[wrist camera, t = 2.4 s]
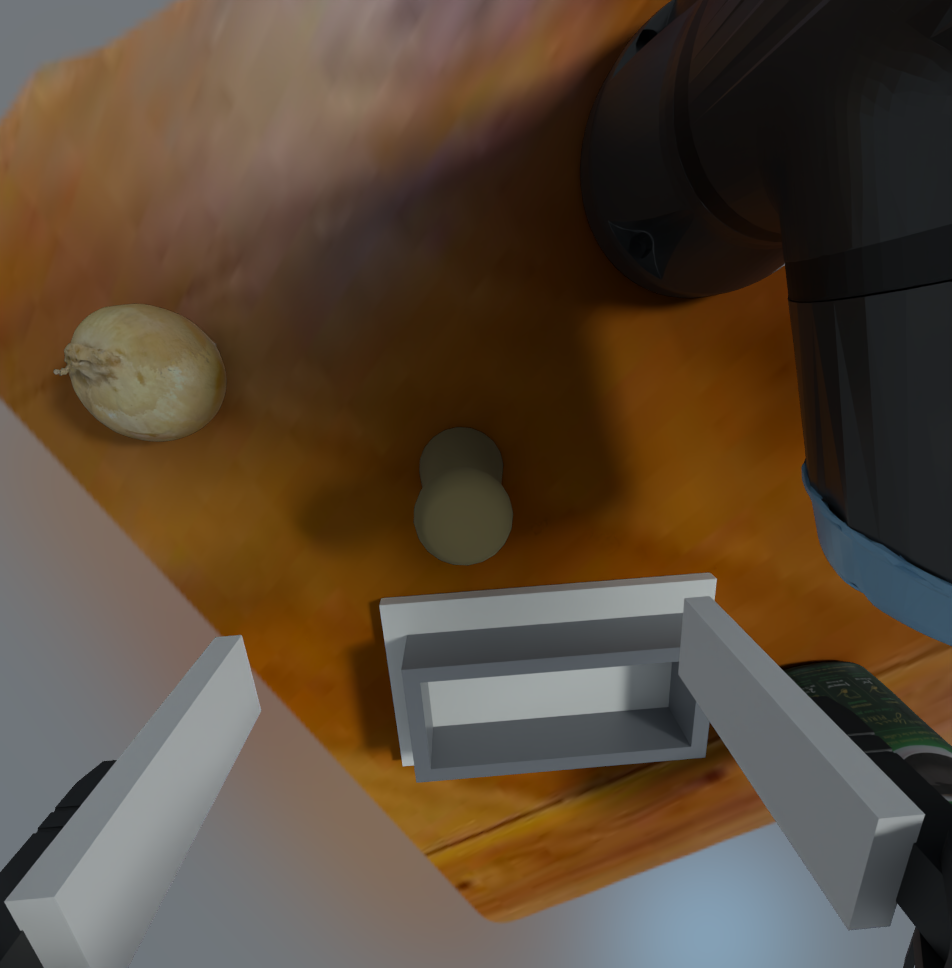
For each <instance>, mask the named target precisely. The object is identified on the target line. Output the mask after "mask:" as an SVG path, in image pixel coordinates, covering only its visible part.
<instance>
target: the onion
mask: <svg viewBox="0 0 952 968" xmlns="http://www.w3.org/2000/svg"><path fill="white" fill-rule="evenodd" d="M64 353H65V359H64V361H65V362H66V363H67V366H66V367H65V368H62V369H61V370H58V369H57V370H55V369H54V373H55V374H56V375H57V374H60V375H59V376H61V375H63V374H65V375H66V374H67V373H68V372H69V375H70V378H71V381H72V385H73V388H74V390H75V392H76V394H77V396H78V397H79V399H80V400H81V402H82V403H83V405H84V406H85V407H86V408H87V410H88V411H89V412H90V413H91V414H92V415H93V416H94V417H95V418H96V419H97V420H99V421H100V422H101V423H102V424H104V425H105V426H107V427H108V428H110V429H111V430H113V431H115V432H117V433H119V434H122V435H125V436H127V437H131V438H135V439H140V440H145V441H171V440H176V439H180V438H183V437H186V436H188V435H191V434H193V433H195V432H197V431H198V430H200V429H201V428H203V427H204V426H205V425H206V424H208V423H209V422H210V421H211V420H212V419H213V418H214V416H215V415H216V414H217V412H218V411H219V409H220V407H221V405H222V402H223V400H224V396H225V392H226V385H227V378H226V371H225V367H224V364H223V362H222V359H221V355H220V354H219V353H220V352H219V350H218V349H217V348H216V344H215V343H214V342H213V341H212V340H211V339H210V338H209V337H208V336H207V335H206V334H205V333H204V332H203V331H202V330H201V329H200V328H199V327H198V326H196V325H195V324H194V323H193V322H192V321H190V320H188V319H187V318H185V317H183V316H181V315H179V314H177V313H174V312H172V311H169V310H166V309H163V308H160V307H156V306H152V305H147V304H125V305H116V306H110V307H104V308H101V309H99V310H97V311H95V312H93V313H92V314H90V315H89V316H87V317H86V318H85V319H84V320H83V321H82V322H81V323H80V324H79V326H78V327H77V328H76V330H75V332H74V335H73V337H72V340H71V344H70V343H69V344H68V345H67V346H66V348H65V349H64Z"/></svg>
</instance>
